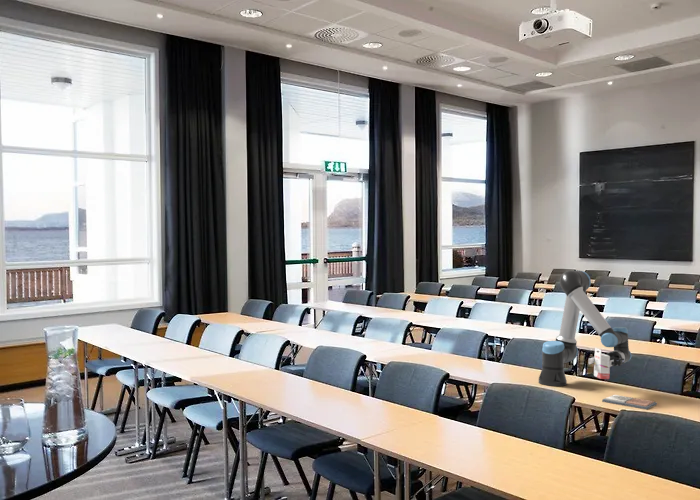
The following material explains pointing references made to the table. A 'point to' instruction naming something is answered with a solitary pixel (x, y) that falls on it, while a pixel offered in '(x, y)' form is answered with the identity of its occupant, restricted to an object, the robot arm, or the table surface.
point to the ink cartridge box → (601, 365)
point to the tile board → (630, 402)
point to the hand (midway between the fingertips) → (598, 362)
